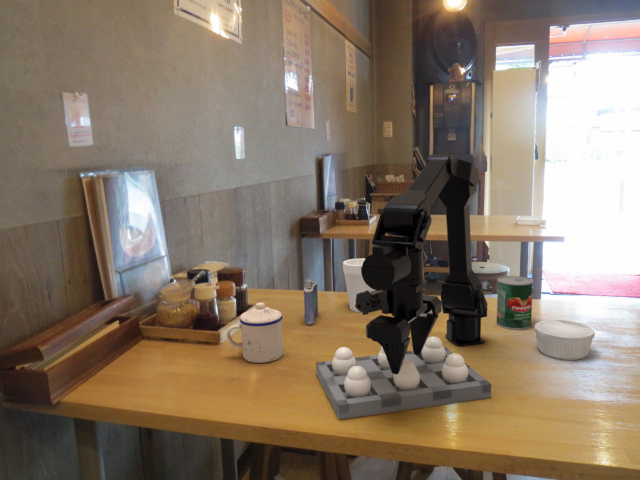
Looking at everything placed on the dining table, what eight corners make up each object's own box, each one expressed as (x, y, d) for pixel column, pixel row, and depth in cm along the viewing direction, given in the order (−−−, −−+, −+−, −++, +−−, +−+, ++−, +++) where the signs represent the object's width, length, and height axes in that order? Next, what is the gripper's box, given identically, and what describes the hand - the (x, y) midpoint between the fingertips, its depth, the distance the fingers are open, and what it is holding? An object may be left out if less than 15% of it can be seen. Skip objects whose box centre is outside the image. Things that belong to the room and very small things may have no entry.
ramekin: (600, 350, 109) (601, 325, 108) (583, 367, 101) (584, 341, 100) (545, 338, 116) (546, 315, 116) (525, 354, 108) (526, 329, 108)
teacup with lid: (283, 346, 118) (280, 296, 116) (285, 362, 109) (282, 308, 107) (229, 350, 117) (226, 299, 115) (227, 366, 108) (223, 312, 106)
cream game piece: (414, 383, 94) (413, 353, 93) (424, 394, 90) (424, 363, 89) (389, 386, 94) (389, 356, 92) (398, 398, 89) (398, 367, 88)
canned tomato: (519, 332, 121) (521, 286, 119) (489, 324, 127) (490, 280, 125) (537, 324, 125) (539, 279, 124) (508, 316, 132) (509, 274, 130)
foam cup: (355, 316, 137) (354, 267, 135) (338, 307, 145) (336, 261, 143) (385, 309, 141) (384, 262, 139) (367, 301, 149) (366, 257, 147)
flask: (314, 326, 130) (312, 284, 129) (302, 325, 131) (300, 284, 129) (319, 314, 139) (317, 275, 138) (308, 314, 140) (306, 275, 138)
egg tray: (316, 374, 102) (315, 341, 101) (444, 358, 108) (445, 327, 106) (339, 419, 85) (337, 380, 84) (490, 397, 90) (491, 360, 89)
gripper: (386, 261, 100) (387, 339, 103) (336, 284, 85) (339, 374, 87) (442, 266, 94) (442, 348, 97) (399, 291, 79) (400, 389, 81)
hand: (406, 363), depth 91 cm, fingers open, 9 cm apart
